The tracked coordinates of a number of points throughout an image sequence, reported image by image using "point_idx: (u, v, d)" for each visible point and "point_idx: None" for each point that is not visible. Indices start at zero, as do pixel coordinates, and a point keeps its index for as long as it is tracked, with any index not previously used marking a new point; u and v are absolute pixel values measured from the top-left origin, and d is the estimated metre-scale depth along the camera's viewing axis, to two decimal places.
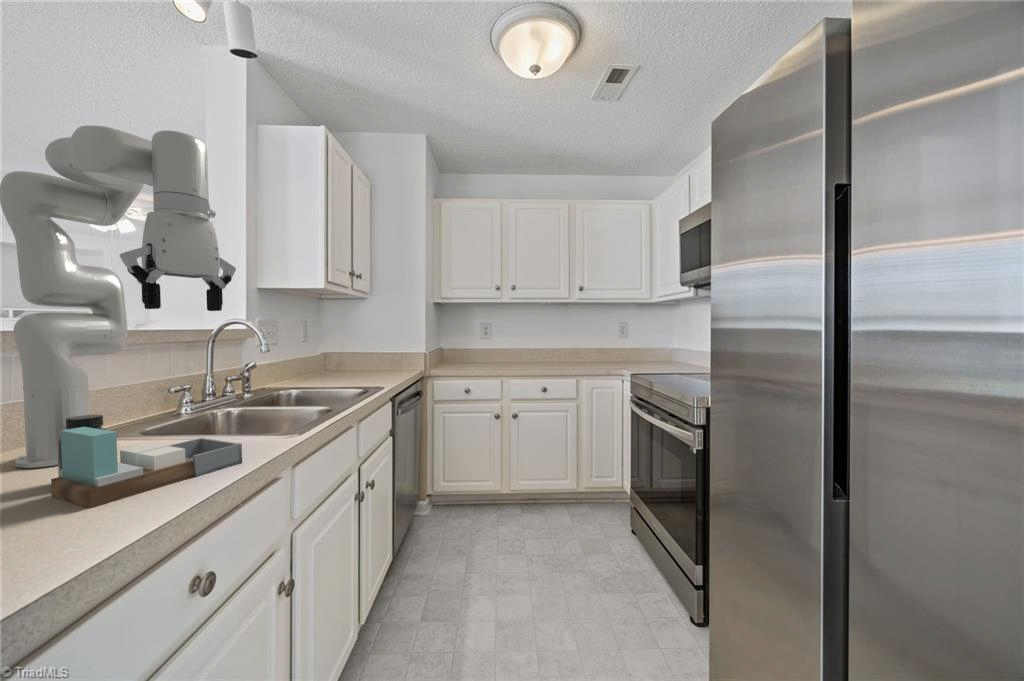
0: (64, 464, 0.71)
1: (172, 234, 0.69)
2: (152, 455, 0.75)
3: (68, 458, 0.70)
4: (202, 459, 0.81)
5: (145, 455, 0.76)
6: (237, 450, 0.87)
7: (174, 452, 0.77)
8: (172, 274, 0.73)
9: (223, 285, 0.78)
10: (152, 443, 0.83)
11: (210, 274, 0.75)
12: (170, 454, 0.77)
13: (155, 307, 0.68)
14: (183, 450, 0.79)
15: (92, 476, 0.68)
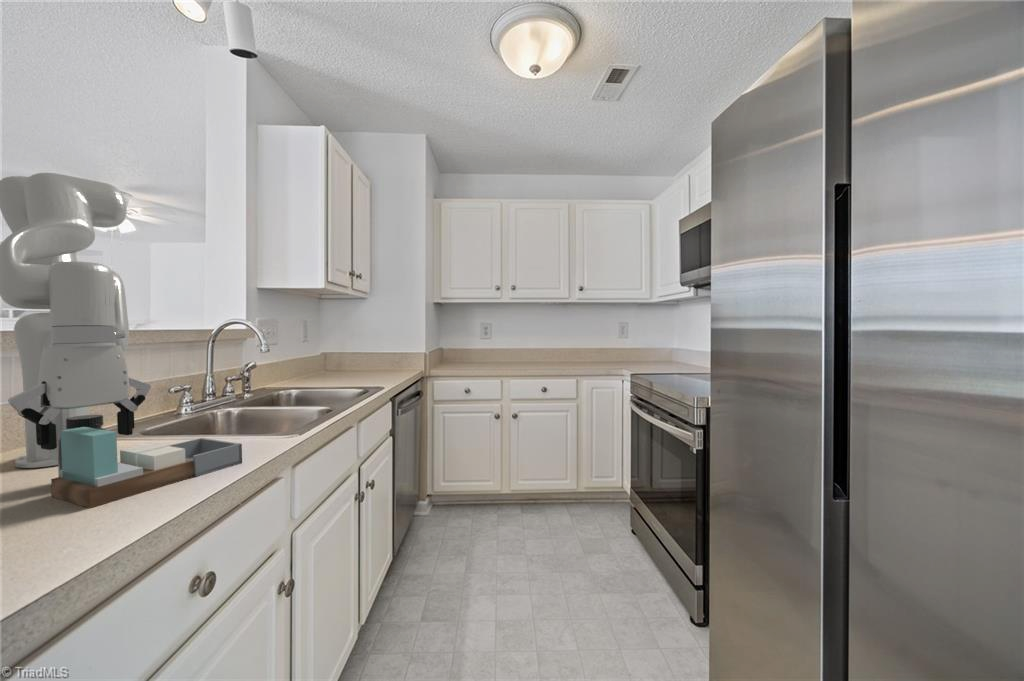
0: (64, 464, 0.71)
1: (69, 369, 0.66)
2: (152, 455, 0.75)
3: (68, 458, 0.70)
4: (202, 459, 0.81)
5: (145, 455, 0.76)
6: (237, 450, 0.87)
7: (174, 452, 0.77)
8: None
9: (135, 407, 0.75)
10: (152, 443, 0.83)
11: (117, 400, 0.72)
12: (170, 454, 0.77)
13: (50, 448, 0.65)
14: (183, 450, 0.79)
15: (92, 476, 0.68)
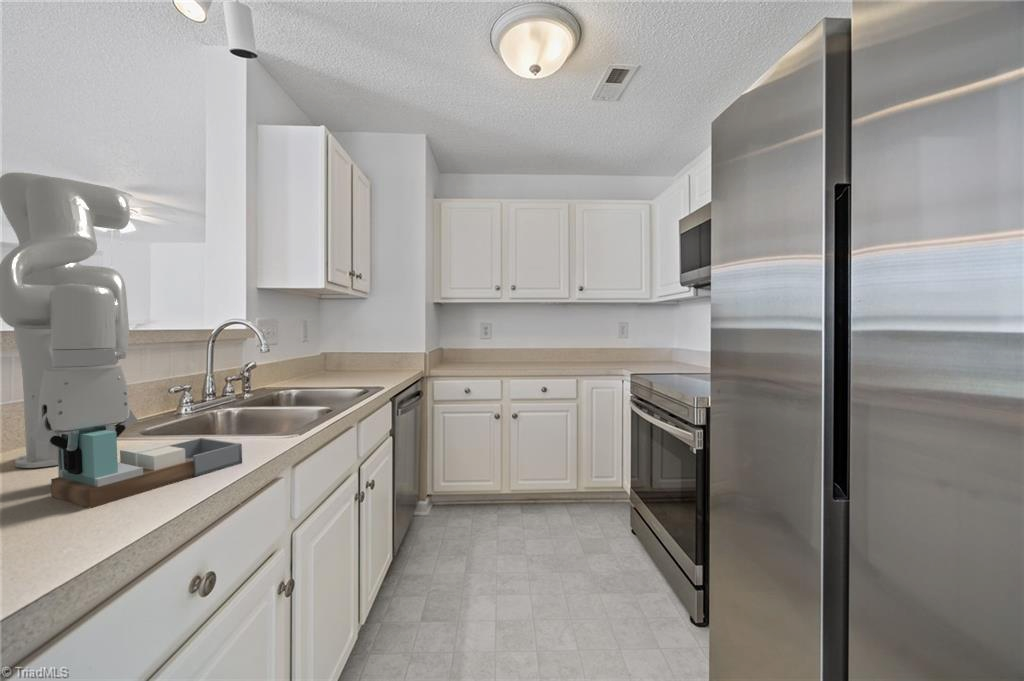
0: None
1: (70, 392, 0.67)
2: (152, 455, 0.75)
3: None
4: (202, 459, 0.81)
5: (145, 455, 0.76)
6: (237, 450, 0.87)
7: (174, 452, 0.77)
8: None
9: None
10: (152, 443, 0.83)
11: (117, 421, 0.72)
12: (170, 454, 0.77)
13: (76, 473, 0.68)
14: (183, 450, 0.79)
15: (92, 476, 0.68)
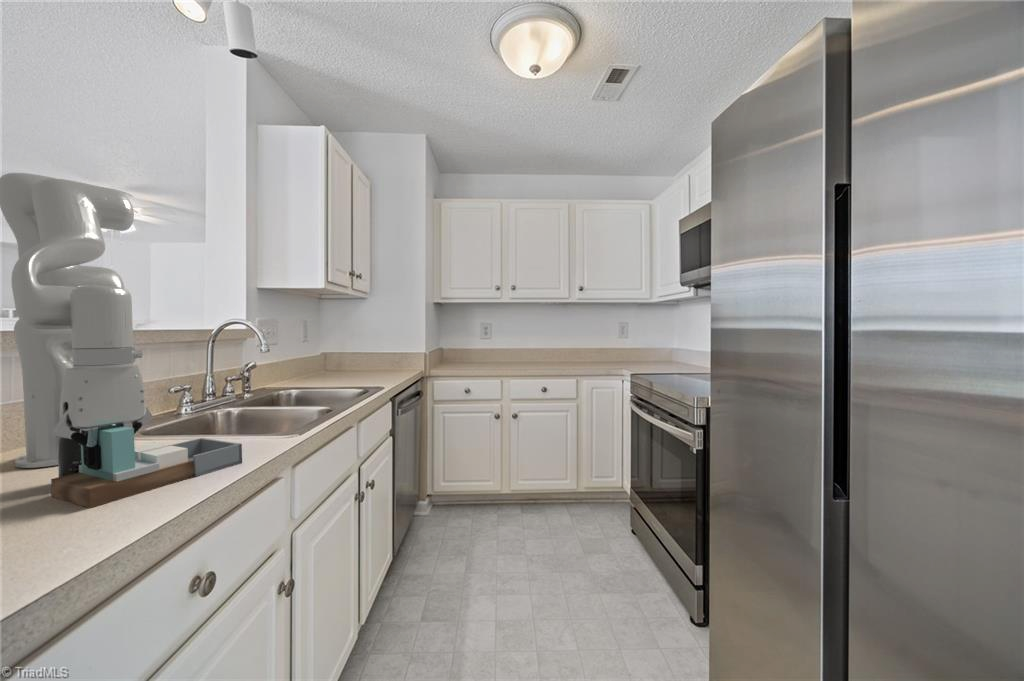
0: (83, 460, 0.73)
1: (90, 390, 0.69)
2: (155, 454, 0.75)
3: None
4: (202, 459, 0.81)
5: (148, 454, 0.76)
6: (237, 450, 0.87)
7: (177, 451, 0.78)
8: None
9: None
10: None
11: (135, 418, 0.75)
12: (173, 454, 0.77)
13: (96, 469, 0.70)
14: (186, 449, 0.79)
15: (111, 471, 0.70)
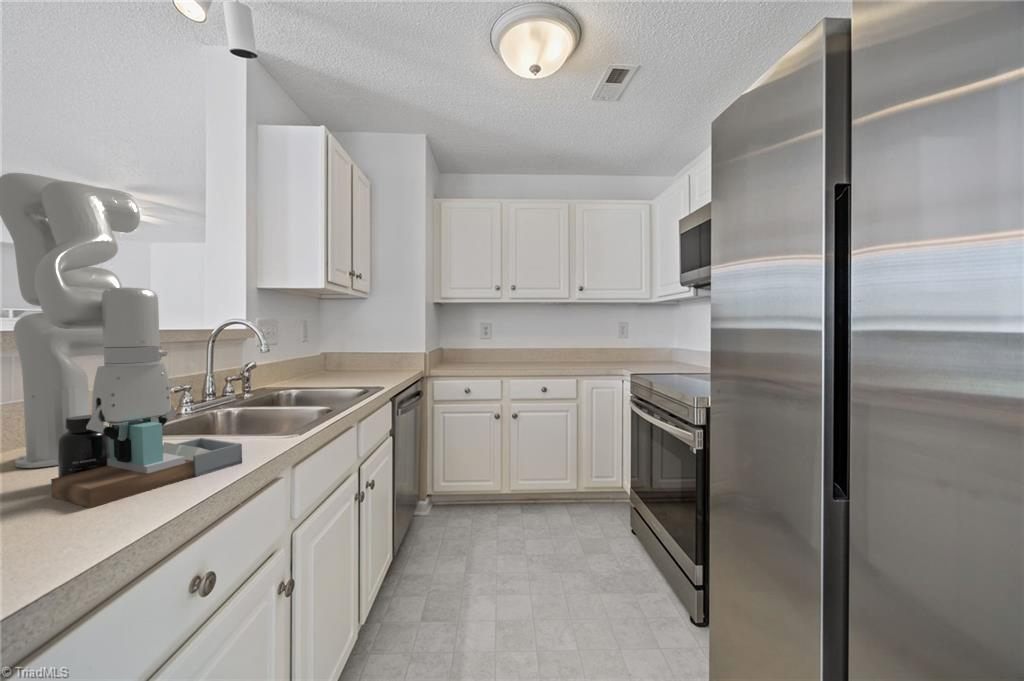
0: (112, 453, 0.77)
1: (121, 387, 0.73)
2: (196, 447, 0.82)
3: None
4: (202, 459, 0.81)
5: (189, 446, 0.82)
6: (237, 450, 0.87)
7: None
8: None
9: None
10: None
11: (161, 414, 0.78)
12: None
13: (126, 461, 0.74)
14: None
15: (141, 464, 0.74)
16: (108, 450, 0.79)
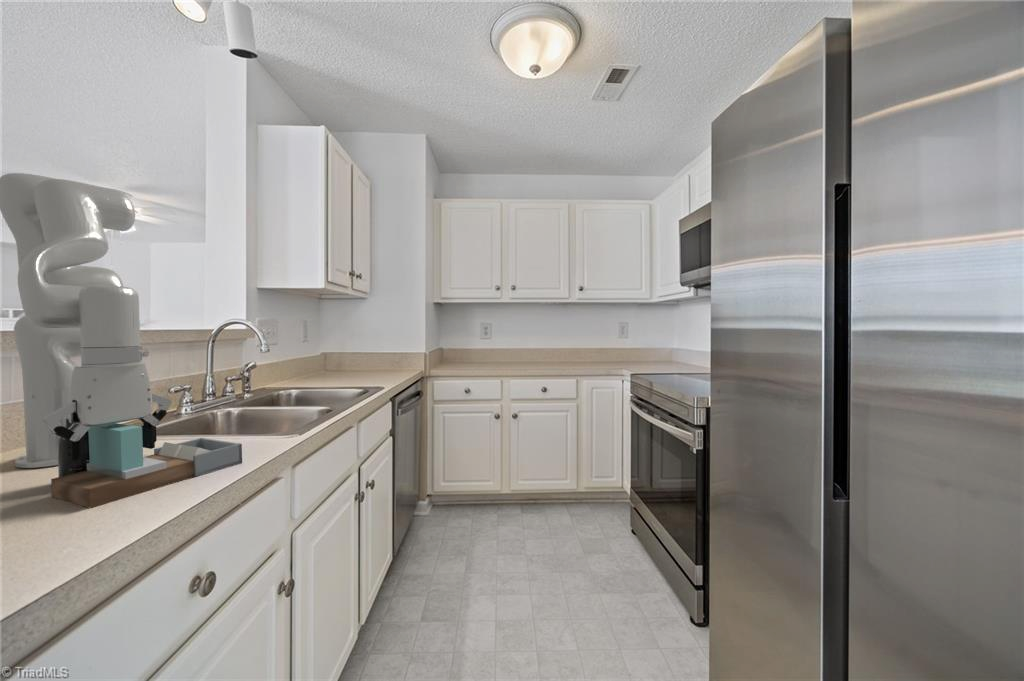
0: (92, 458, 0.74)
1: (98, 388, 0.70)
2: (196, 447, 0.82)
3: (96, 452, 0.74)
4: (202, 459, 0.81)
5: (189, 446, 0.82)
6: (237, 450, 0.87)
7: None
8: None
9: (157, 422, 0.79)
10: None
11: (141, 416, 0.76)
12: None
13: (80, 463, 0.69)
14: None
15: (120, 469, 0.71)
16: None
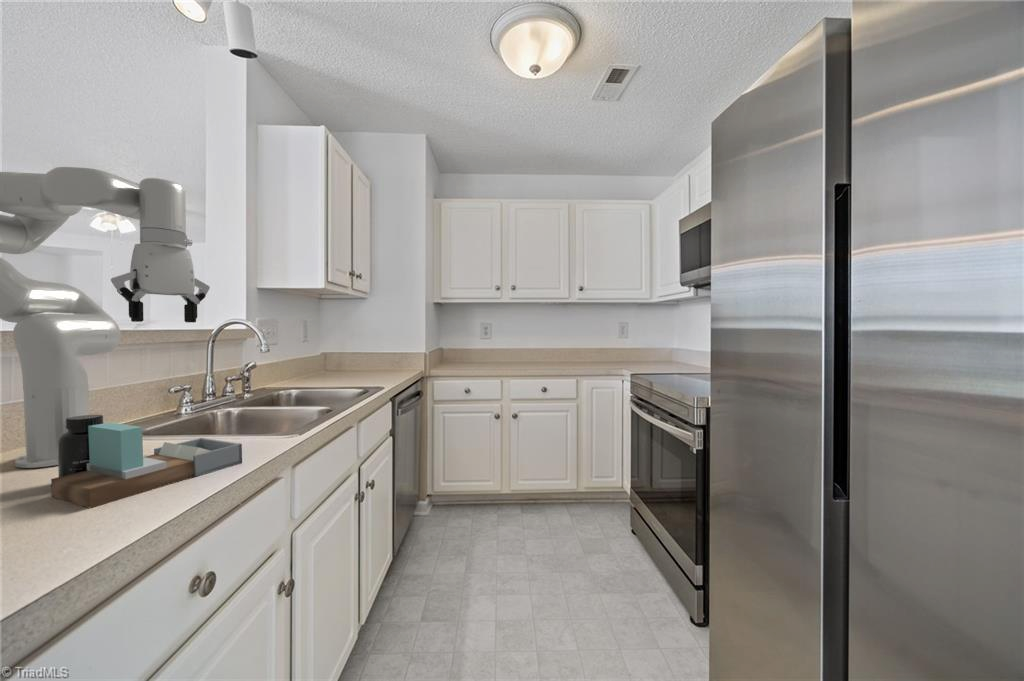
0: (92, 458, 0.74)
1: (153, 261, 0.86)
2: (196, 447, 0.82)
3: (96, 452, 0.74)
4: (202, 459, 0.81)
5: (189, 446, 0.82)
6: (237, 450, 0.87)
7: None
8: (155, 293, 0.90)
9: (198, 301, 0.95)
10: None
11: (186, 293, 0.92)
12: None
13: (139, 320, 0.85)
14: None
15: (120, 469, 0.71)
16: None
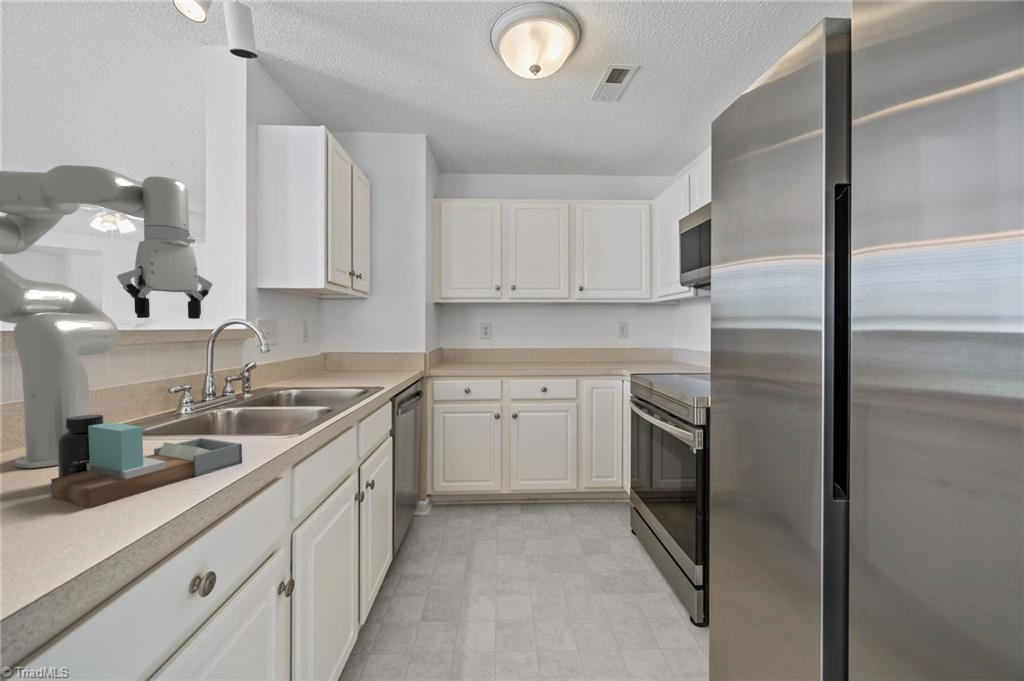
0: (92, 458, 0.74)
1: (159, 258, 0.87)
2: (196, 447, 0.82)
3: (96, 452, 0.74)
4: (202, 459, 0.81)
5: (189, 446, 0.82)
6: (237, 450, 0.87)
7: None
8: (159, 289, 0.91)
9: (201, 298, 0.96)
10: None
11: (190, 289, 0.93)
12: None
13: (145, 316, 0.86)
14: None
15: (120, 469, 0.71)
16: None
